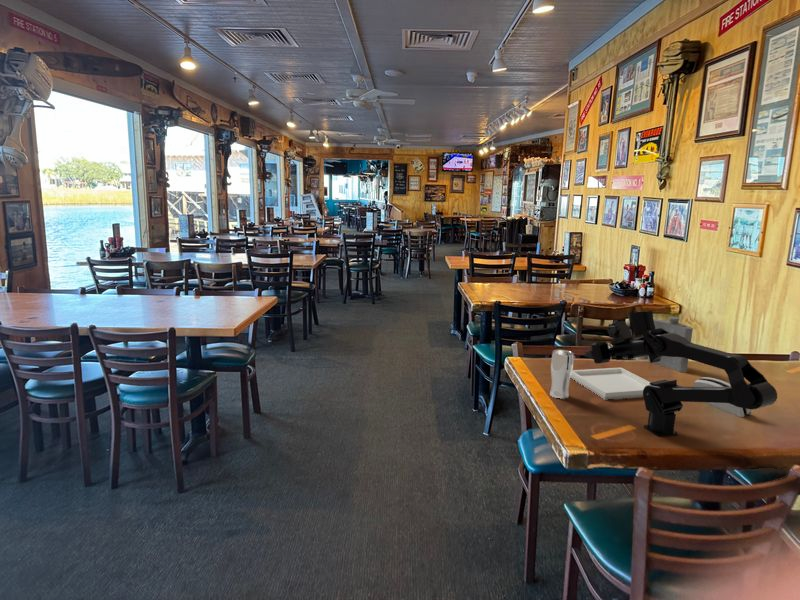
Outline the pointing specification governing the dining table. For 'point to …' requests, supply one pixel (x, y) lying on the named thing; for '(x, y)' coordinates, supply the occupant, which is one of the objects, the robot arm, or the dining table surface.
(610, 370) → the serving tray
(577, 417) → the dining table surface
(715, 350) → the robot arm
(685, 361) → the hip flask
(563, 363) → the beer glass
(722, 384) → the grey half-round block
